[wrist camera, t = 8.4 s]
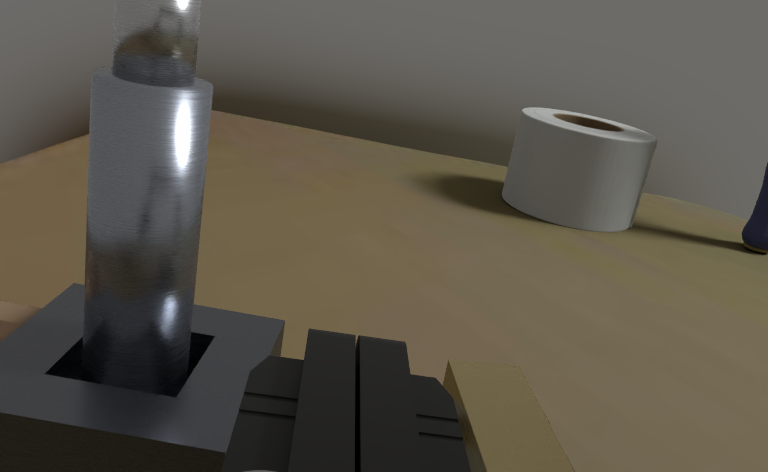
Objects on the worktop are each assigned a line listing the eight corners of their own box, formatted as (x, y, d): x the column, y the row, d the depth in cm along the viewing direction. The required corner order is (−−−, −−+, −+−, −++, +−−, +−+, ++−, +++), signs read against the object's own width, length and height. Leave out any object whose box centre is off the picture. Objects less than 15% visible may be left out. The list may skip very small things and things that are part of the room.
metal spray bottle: (172, 360, 34) (203, -27, 28) (197, 412, 31) (238, -18, 25) (74, 372, 32) (86, -47, 26) (89, 429, 29) (107, -39, 23)
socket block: (275, 396, 37) (285, 320, 36) (215, 549, 27) (225, 452, 26) (72, 359, 37) (73, 283, 36) (-66, 499, 27) (-72, 399, 26)
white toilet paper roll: (653, 224, 85) (680, 137, 81) (588, 240, 74) (615, 140, 70) (546, 185, 95) (566, 106, 91) (475, 195, 84) (494, 105, 80)
